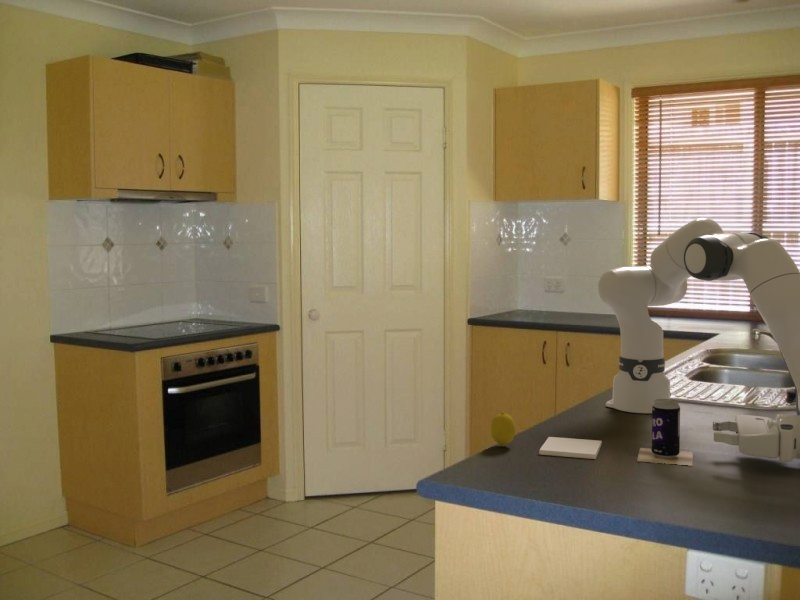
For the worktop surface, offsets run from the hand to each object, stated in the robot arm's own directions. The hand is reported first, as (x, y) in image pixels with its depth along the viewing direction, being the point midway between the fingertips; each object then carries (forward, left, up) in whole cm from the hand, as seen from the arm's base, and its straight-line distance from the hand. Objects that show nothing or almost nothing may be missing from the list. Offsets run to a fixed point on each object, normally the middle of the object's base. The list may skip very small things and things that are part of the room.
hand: (713, 431), depth 171 cm
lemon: (+2, -44, -7) cm, 45 cm away
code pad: (0, -9, -6) cm, 11 cm away
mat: (0, -29, -6) cm, 30 cm away
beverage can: (0, -9, -6) cm, 11 cm away
